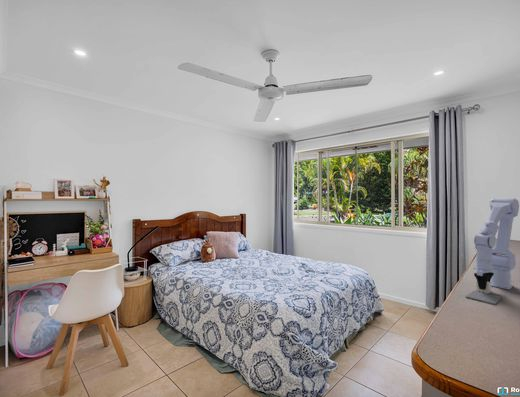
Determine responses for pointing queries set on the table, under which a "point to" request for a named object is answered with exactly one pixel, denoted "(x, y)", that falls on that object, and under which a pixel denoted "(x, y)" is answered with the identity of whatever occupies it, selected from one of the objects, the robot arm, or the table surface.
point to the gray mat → (484, 297)
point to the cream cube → (487, 290)
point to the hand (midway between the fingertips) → (483, 288)
